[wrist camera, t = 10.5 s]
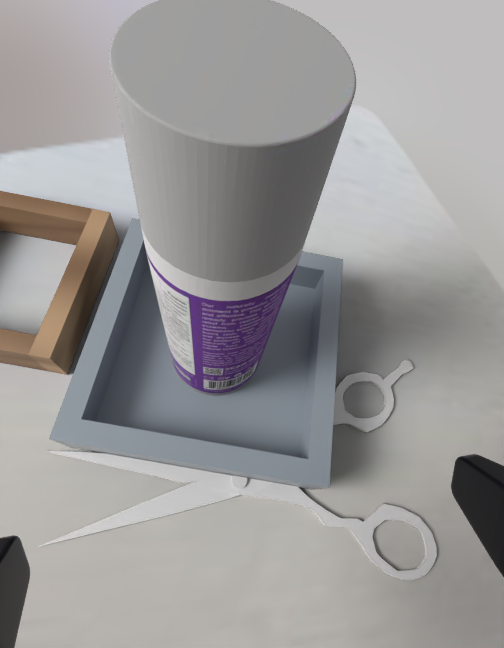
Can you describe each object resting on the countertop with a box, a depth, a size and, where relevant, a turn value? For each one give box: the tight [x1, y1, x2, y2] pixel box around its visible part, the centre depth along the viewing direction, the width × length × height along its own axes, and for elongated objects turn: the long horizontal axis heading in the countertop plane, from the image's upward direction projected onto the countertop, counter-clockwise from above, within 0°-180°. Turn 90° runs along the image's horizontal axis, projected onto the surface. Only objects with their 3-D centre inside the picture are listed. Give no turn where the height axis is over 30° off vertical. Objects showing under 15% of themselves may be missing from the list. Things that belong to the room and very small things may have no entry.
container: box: [109, 0, 356, 396], centre depth 14 cm, size 5×5×15 cm
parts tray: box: [49, 218, 343, 489], centre depth 20 cm, size 12×12×3 cm
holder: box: [0, 191, 119, 374], centre depth 21 cm, size 9×9×2 cm
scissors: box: [38, 360, 437, 580], centre depth 19 cm, size 11×1×20 cm
